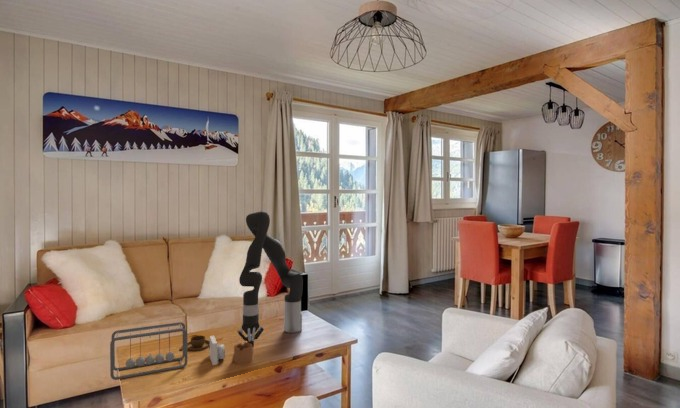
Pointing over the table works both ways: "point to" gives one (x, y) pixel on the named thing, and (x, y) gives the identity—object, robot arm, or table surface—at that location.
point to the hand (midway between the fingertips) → (250, 348)
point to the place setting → (197, 343)
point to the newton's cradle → (150, 359)
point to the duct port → (216, 351)
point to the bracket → (243, 353)
